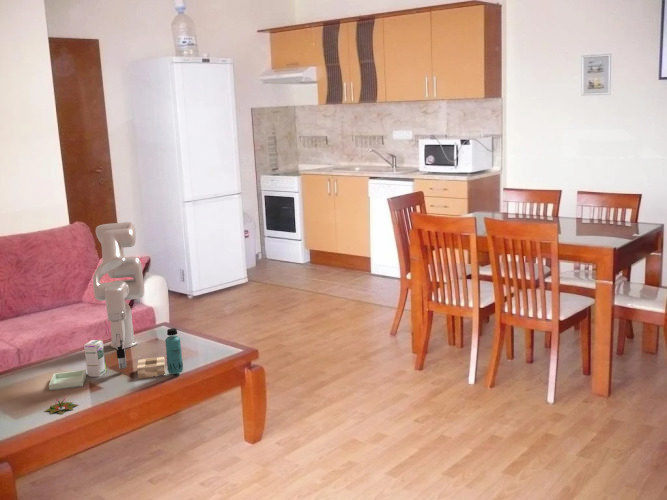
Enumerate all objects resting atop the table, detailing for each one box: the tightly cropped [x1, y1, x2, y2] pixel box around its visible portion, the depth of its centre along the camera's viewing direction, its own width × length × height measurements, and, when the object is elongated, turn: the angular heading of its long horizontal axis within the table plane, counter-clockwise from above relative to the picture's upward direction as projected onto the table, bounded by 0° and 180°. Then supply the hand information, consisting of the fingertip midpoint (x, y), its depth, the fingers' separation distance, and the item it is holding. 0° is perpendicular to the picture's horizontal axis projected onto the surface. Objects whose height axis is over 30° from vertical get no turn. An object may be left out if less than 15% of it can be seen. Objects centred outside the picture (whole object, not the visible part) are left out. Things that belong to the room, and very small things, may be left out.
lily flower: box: [44, 396, 78, 415], centre depth 265 cm, size 12×12×5 cm
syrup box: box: [83, 339, 108, 378], centre depth 297 cm, size 6×6×14 cm
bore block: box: [136, 356, 166, 379], centre depth 297 cm, size 11×11×4 cm
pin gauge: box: [117, 341, 128, 370], centre depth 297 cm, size 3×3×14 cm
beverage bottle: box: [164, 328, 184, 375], centre depth 292 cm, size 6×7×20 cm
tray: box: [48, 369, 87, 391], centre depth 290 cm, size 13×13×2 cm
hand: (121, 355), depth 297 cm, fingers closed on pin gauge, 3 cm apart
